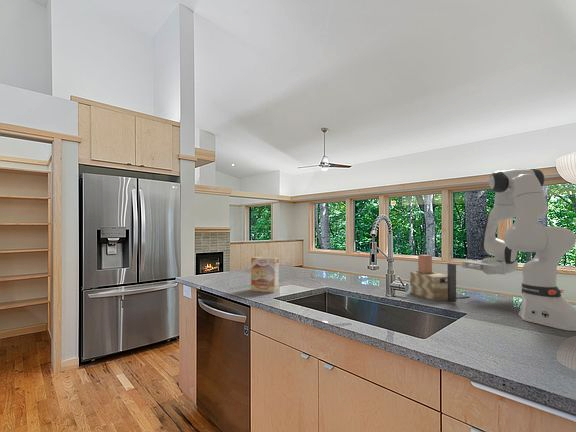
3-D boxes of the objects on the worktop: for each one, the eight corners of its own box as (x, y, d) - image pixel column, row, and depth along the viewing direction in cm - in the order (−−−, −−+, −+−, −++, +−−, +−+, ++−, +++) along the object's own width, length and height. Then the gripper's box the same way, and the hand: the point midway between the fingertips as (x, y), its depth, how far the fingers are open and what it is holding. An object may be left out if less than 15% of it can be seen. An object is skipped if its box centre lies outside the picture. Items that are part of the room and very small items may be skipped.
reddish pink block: (431, 273, 174) (431, 255, 175) (424, 273, 173) (424, 255, 173) (425, 272, 179) (425, 254, 179) (418, 272, 178) (418, 254, 178)
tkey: (456, 302, 156) (456, 264, 156) (454, 302, 155) (453, 264, 156) (444, 298, 163) (444, 262, 164) (442, 298, 163) (442, 262, 163)
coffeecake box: (250, 290, 181) (250, 257, 182) (255, 288, 188) (255, 256, 189) (274, 292, 177) (274, 258, 177) (278, 290, 183) (279, 257, 184)
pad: (469, 297, 168) (469, 296, 168) (456, 298, 165) (456, 297, 165) (456, 293, 177) (456, 292, 177) (443, 294, 174) (443, 293, 174)
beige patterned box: (452, 298, 165) (452, 275, 165) (434, 300, 161) (433, 276, 162) (427, 291, 182) (427, 270, 183) (410, 292, 179) (410, 270, 179)
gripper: (473, 258, 176) (453, 258, 172) (508, 262, 156) (487, 263, 152) (473, 269, 176) (453, 270, 172) (508, 274, 156) (487, 276, 152)
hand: (470, 266), depth 162 cm, fingers closed
